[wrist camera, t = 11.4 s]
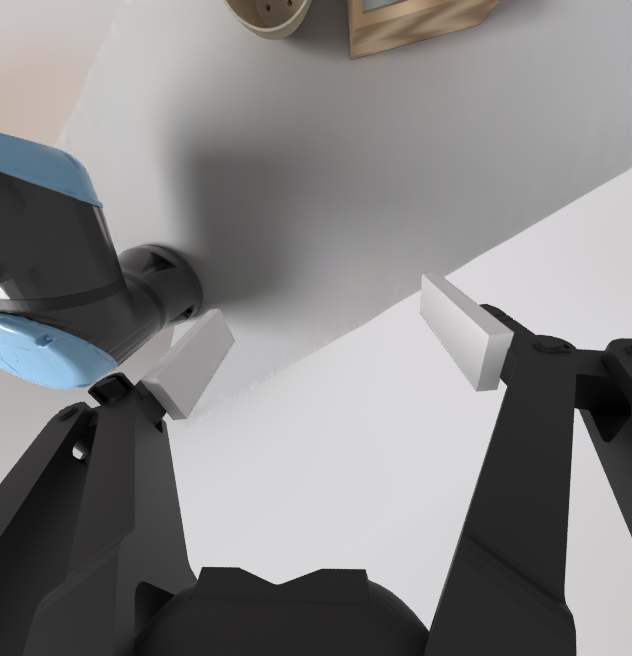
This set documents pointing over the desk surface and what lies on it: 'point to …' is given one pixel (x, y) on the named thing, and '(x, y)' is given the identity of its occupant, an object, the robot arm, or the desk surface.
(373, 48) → the wooden box
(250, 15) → the flower pot
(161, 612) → the robot arm
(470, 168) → the desk surface
